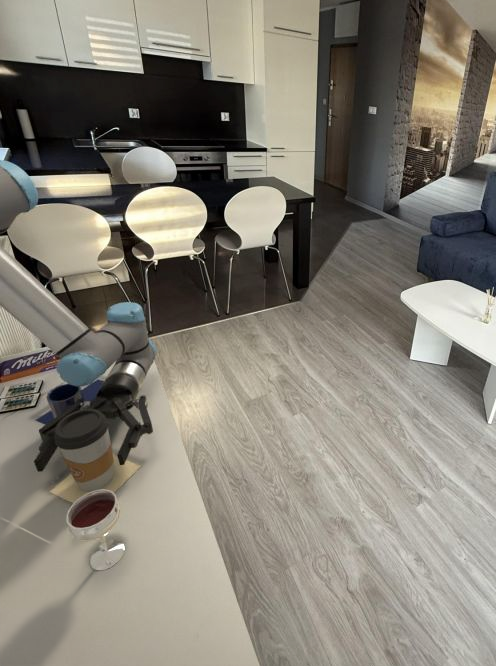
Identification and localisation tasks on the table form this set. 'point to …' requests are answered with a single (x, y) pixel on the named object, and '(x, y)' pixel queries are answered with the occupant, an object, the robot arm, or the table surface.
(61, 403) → the navy tumbler
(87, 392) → the navy mat
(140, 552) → the table surface
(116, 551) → the wineglass
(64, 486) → the cream mat
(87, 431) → the coffee cup
